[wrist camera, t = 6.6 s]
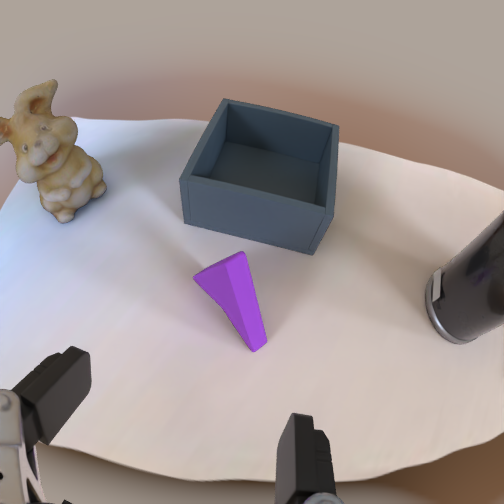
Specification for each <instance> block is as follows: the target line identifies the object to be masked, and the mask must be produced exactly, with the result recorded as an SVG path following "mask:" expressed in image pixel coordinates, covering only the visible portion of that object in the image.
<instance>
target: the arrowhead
mask: <svg viewBox="0 0 504 504" xmlns="http://www.w3.org/2000/svg"><path fill="white" fill-rule="evenodd" d="M193 279H194V280H195V281H196V282H197V283H198V284H199V285H200V286H201V287H202V288H203V289H204V290H205V291H206V292H207V293H208V294H209V295H210V296H211V297H212V298H213V299H214V300H215V301H216V302H217V303H218V304H219V305H220V306H221V307H222V309H223V310H224V312H225V313H226V315H227V316H228V318H229V319H230V321H231V322H232V323H233V325H234V326H235V328H236V329H237V331H238V332H239V334H240V335H241V337H242V338H243V340H244V341H245V343H246V344H247V345H248V347H249V348H250V350H251V351H252V352H255V351H256V350H258V349H259V348H260V347H262V346H263V345H264V344H265V343H266V342H267V338H266V334H265V330H264V326H263V322H262V318H261V314H260V310H259V306H258V302H257V298H256V294H255V289H254V285H253V281H252V277H251V273H250V269H249V265H248V261H247V258H246V255H245V253H244V252H243V251H240V252H238V253H236V254H234V255H232V256H229V257H227V258H225V259H223V260H221V261H219V262H217V263H215V264H213V265H211V266H209V267H207V268H205V269H204V270H202V271H201V272H199V273H198V274H196V275H195V276H193Z"/></svg>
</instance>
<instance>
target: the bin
mask: <svg viewBox="0 0 504 504" xmlns="http://www.w3.org/2000/svg"><path fill="white" fill-rule="evenodd" d="M338 144H339V126H338V125H335V124H331V123H328V122H324V121H320V120H317V119H313V118H310V117H306V116H302V115H298V114H294V113H290V112H286V111H282V110H278V109H273V108H269V107H264V106H260V105H254V104H250V103H244V102H239V101H234V100H229V99H223V100H222V102H221V104H220V105H219V107H218V109H217V110H216V112H215V114H214V115H213V117H212V119H211V121H210V122H209V124H208V126H207V128H206V130H205V131H204V133H203V135H202V137H201V139H200V141H199V142H198V144H197V146H196V148H195V150H194V152H193V154H192V155H191V157H190V159H189V161H188V163H187V165H186V167H185V169H184V171H183V173H182V175H181V177H180V179H179V182H180V192H181V201H182V209H183V217H184V223H185V224H189V225H193V226H197V227H201V228H205V229H209V230H213V231H217V232H221V233H225V234H229V235H233V236H237V237H241V238H245V239H249V240H253V241H257V242H261V243H265V244H269V245H273V246H277V247H281V248H285V249H289V250H293V251H297V252H301V253H305V254H309V255H313V254H314V252H315V251H316V249H317V247H318V245H319V243H320V241H321V239H322V238H323V236H324V234H325V232H326V230H327V228H328V226H329V224H330V222H331V221H332V219H333V217H334V205H335V193H336V179H337V163H338Z"/></svg>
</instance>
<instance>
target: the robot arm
mask: <svg viewBox="0 0 504 504" xmlns="http://www.w3.org/2000/svg"><path fill="white" fill-rule="evenodd" d="M426 306H427V311H428V314H429V317H430V319H431V321H432V323H433V325H434V327H435V328H436V329H437V331H438V332H439V333H440V334H441V335H442V336H443V337H444V338H445V339H447V340H448V341H450V342H452V343H456V344H465V343H468V342H470V341H472V340H474V339H476V338H477V337H479V336H481V335H483V334H485V333H487V332H489V331H491V330H493V329H495V328H497V327H499V326H501V325H502V324H504V211H503V212H502V213H501V214H500V215H499V216H498V217H497V218H496V219H495V220H494V221H493V222H492V223H491V224H490V225H489V226H488V227H487V228H486V229H485V230H483V231H482V232H481V233H480V234H479V235H478V236H477V237H476V238H475V239H474V240H473V241H472V242H471V243H470V244H469V245H467V246H466V247H465V248H464V249H463V250H462V251H461V252H460V253H459V254H458V255H456V256H455V257H454V258H453V259H452V260H451V261H450V262H448V263H447V264H446V265H445V266H444V267H442V268H441V267H440V268H439V269H438V270H437V271H435V272H434V274H433V275H432V276H431V278H430V280H429V281H428V284H427V288H426ZM90 388H91V365H90V354H89V353H88V352H86V351H83V350H81V349H79V348H77V347H74V346H71V347H69V348H68V349H67V350H66V351H65V352H64V353H63V354H60V353H56V354H53V355H51V356H48V357H47V358H46V359H44V360H43V361H42V362H41V363H40V365H38V366H37V367H36V368H34V371H31V372H30V373H29V374H28V375H27V376H26V377H25V378H24V379H22V380H21V381H20V382H19V383H18V384H17V385H16V386H15V387H14V388H13V389H12V390H7V389H0V504H53V503H47V501H46V498H45V495H44V492H43V489H42V486H41V481H40V475H39V469H38V462H37V455H36V448H35V444H36V443H37V442H38V441H41V442H43V443H44V444H46V445H49V444H50V442H51V441H52V440H53V438H54V437H55V436H56V434H57V433H58V432H59V430H60V429H61V428H62V427H63V425H64V424H65V423H66V421H67V420H68V419H69V418H70V416H71V415H72V414H73V412H74V411H75V410H76V409H77V407H78V406H79V405H80V404H81V402H82V401H83V400H84V399H85V397H86V396H87V395H88V393H89V391H90ZM330 452H331V450H330V443H329V440H328V438H327V437H326V435H325V433H324V432H323V431H322V430H315V429H314V424H313V417H312V416H309V415H303V414H297V413H292V414H291V416H290V418H289V420H288V422H287V425H286V427H285V429H284V431H283V433H282V435H281V437H280V440H279V443H278V448H277V463H276V487H275V504H344V502H343V501H342V500H341V499H340V498H338V497H337V495H336V489H335V481H334V473H333V465H332V462H331V461H332V458H331V454H330ZM62 504H72V503H70V502H68V501H66V500H64V501H63V503H62Z"/></svg>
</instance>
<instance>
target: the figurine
mask: <svg viewBox="0 0 504 504" xmlns="http://www.w3.org/2000/svg"><path fill="white" fill-rule="evenodd" d="M57 87H58V83H57V81H56V80H54V79H52V80H49V81H47V82H45V83H42V84H40V85H36V86H33V87H31V88H29V89H27V90H25V91H23V92H22V93H21V94H20V95H19V96H18V97H17V98H16V101H15V105H14V110H15V111H14V115H13V116H12V118H10V119H6V118H2V117H0V146H1V145H2V144H3V143H5V142H7V141H9V142H10V143H11V144H12V145H13V147H14V150H15V153H16V155H17V161H16V172H17V175H18V177H19V178H20V179H21V180H22V181H23V182H25V183H34V182H37V187H38V190H39V192H40V201H41V204H42V206H43V208H44V209H45V210H47V211H48V212H50V213H52V214H53V215H54V216H55V217H56V219H57V220H58V222H60V223H67V222H69V221H71V220H72V219H73V218H74V213H75V212H76V210H77V209H78V208H80V207H82V206H84V205H86V204H87V203H88V201H89V200H90V199H92V198H98V197H100V196H101V195H102V194H103V193H104V192H105V191H106V188H107V186H106V184H105V182H104V181H103V179H102V178H103V170H102V167H101V165H100V164H99V163H98V161H97V160H95V159H94V158H93V157H91V156H89V155H87V154H86V152H85V151H84V150H83V149H82V148H80V147H79V146H76V145H74V144H75V142H76V139H77V135H78V128H77V125H76V123H75V122H74V121H73V120H72V119H71V118H69V117H66V116H58V117H55V116H53V115H52V112H51V103H52V99H53V97H54V94H55V92H56V90H57Z"/></svg>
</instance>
